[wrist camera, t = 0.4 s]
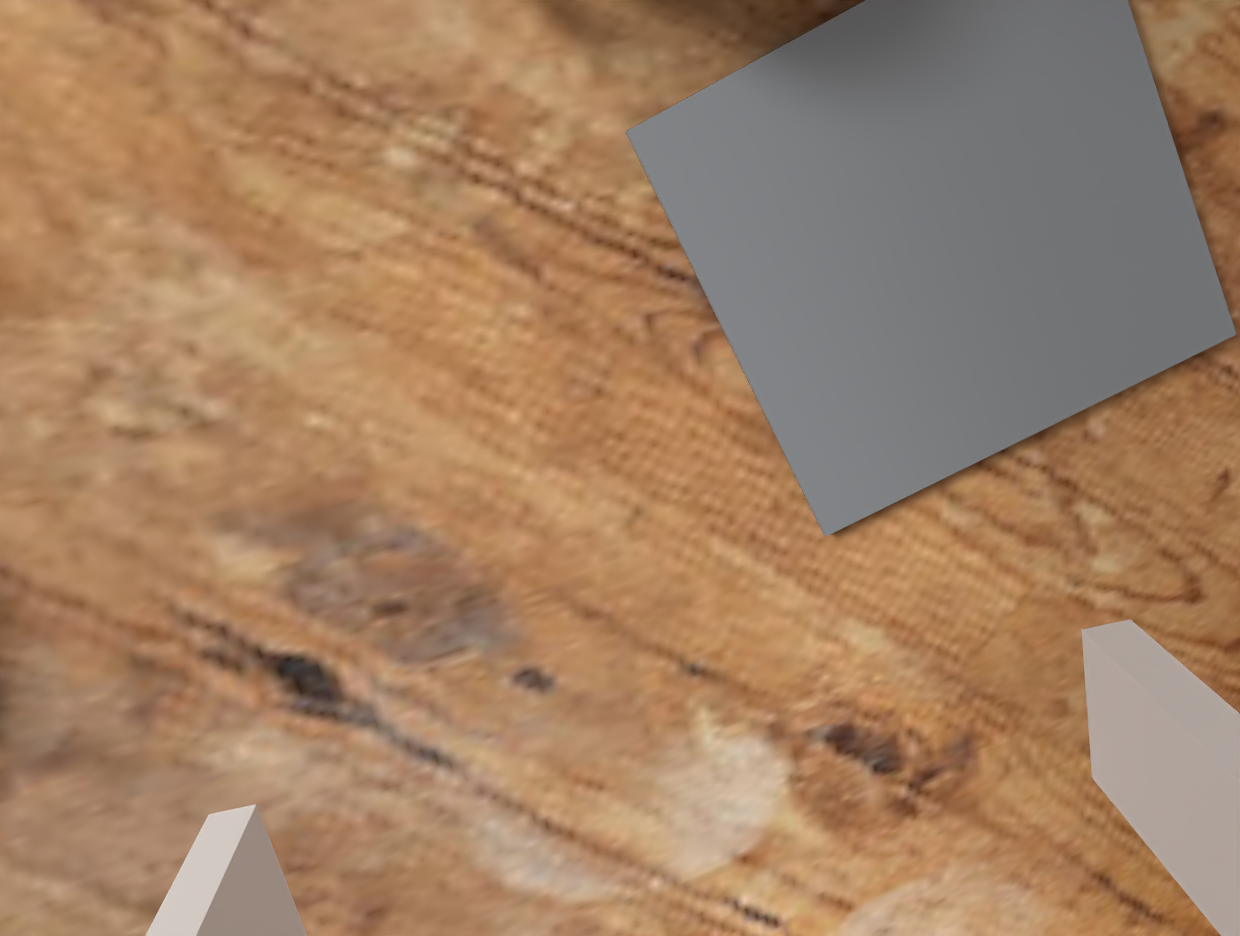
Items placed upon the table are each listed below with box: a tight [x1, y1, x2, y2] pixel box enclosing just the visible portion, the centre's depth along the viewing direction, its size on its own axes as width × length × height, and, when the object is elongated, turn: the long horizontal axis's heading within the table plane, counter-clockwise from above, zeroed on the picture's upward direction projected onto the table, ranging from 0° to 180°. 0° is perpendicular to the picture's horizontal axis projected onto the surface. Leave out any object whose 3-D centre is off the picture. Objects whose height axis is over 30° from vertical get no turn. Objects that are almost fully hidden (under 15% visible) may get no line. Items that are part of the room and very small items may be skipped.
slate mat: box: [626, 0, 1237, 536], centre depth 39 cm, size 18×18×1 cm
